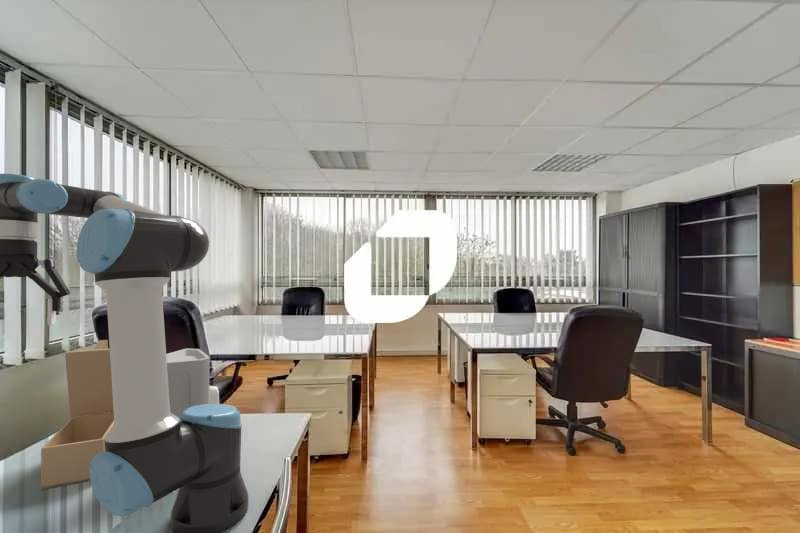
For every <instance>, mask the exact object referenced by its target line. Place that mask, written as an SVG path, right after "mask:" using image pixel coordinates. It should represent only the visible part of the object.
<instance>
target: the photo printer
mask: <svg viewBox="0 0 800 533" xmlns="http://www.w3.org/2000/svg"><path fill="white" fill-rule="evenodd" d="M209 404H220V391H219V388H218V386H214V385H209Z"/></svg>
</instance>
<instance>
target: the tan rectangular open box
mask: <svg viewBox="0 0 800 533" xmlns="http://www.w3.org/2000/svg"><path fill="white" fill-rule="evenodd" d="M113 427H114V412H109V413H101V414H93V415H85V416H77V417H70V419H68V421H67V422H66V423H65V424H63V426H62V427H61V428H60V429H59V430H58V431H57V432H56V433H55V434H54V435H53V436H52V437H51V438H50V439H49V440H48V441H47V442H46V443H45V444H44V445H43V446H42V448H41V450H40V453H41V454H40V459H41V460H40V465H41V466H40V490H41V491H43V490H48V489H49V490H50V489H54V488H59V487H64V486H69V485H70V486H71V485H76V484H79V483H80V484H81V483H85V482H86V483H87V482H91V481H90V475H89V470H90V465H91V461H92V459H93V458H94V457H95V456H96V455H98V454H99V453H100V452H103V451H105V441H104V437H105V436H106V434H107V433H108V432H109V431H110V430H111V429H112V428H113Z"/></svg>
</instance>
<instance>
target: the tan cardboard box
mask: <svg viewBox="0 0 800 533" xmlns="http://www.w3.org/2000/svg"><path fill="white" fill-rule="evenodd" d="M64 357H65V368H66V380H67V392H68V393H67V394H68V405H69V406H68V407H69V417H70V418H72V417H80V416H88V415H95V414H103V413H111V412H114V410H113V393H112V377H111V361H110V348H109V339H99V340H98V342H97V343H96V344H95V346H94V347H93V349H82V350H70V351H69V350H68V351H67V350H66V351H65V352H64Z"/></svg>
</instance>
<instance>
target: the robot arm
mask: <svg viewBox="0 0 800 533" xmlns="http://www.w3.org/2000/svg"><path fill="white" fill-rule="evenodd" d="M38 214H40V215H41V214H42V215H43V214H44V215H52V216H53V215H54V216H61V217H62V216H63V217H74V218H84V219H86V221H85V222H84V224H83V225H82V227H81V229H80V232H79V235H78V239H77V243H76V258H77V261H78V263H79V267H80V268H81V269H82V270H83V271H85V272H86V273H89V274H91V275H92V274H93V275H94V284H95V285H96V286H97V287H99V288H100V289H102V290H103V291H104V292H105V295H106V309H107V323H108V324H107V325H108V326H107V327H108V345H109V349H110V361H111V377H112V393H113V410H114V427H113V428H112V429H111V430H110V431H109V432H108V433H107V434H106V436H105V437H104V441H105V451H103V452H100V453H99V454H98V455H96V456H95V457H94V458H93V459H92V461H91V465H90V470H89V475H90V481H89V482H90V485H91V488H92V490H93V494H94V496H95V497H96V499H97V500H98V502H99V503H100V504H101V506H102V507H103V508H104V509H105V510H106V512H107V511H108V513H109V514H112V515H114V516H117V517H127V516H131V515H133V514H134V513H137V512H139V511H141V510H142V509H145V508H149V507H150V506H151V505H153V504H154V503H155V502H156V503H157V501H159V500H161V499H163V498H164V497H166V496H168V495H170V494H171V493H173V492H176V491H177V490H178V492H177V493H176V494H177V495H176V498H175V500H174V502H173V506H172V508H171V512H170V529H171V530H172V531H171V532H173V533H221V532H224V531H227V530H228V529H230V528H231V527H233V526H234V525H235V524H237V523H238V522H240V521H241V520H242V518H243V517H244V516H245V515H246V513H247V512H248V509H249V493H248V489H247V487H246V484H245V480H244V479H243V475H242V473H241V472H242V471H241V450H242V448H241V446H242V444H241V443H242V427H243V426H242V424H241V423H242V421H241V411H240V410H239V409H238V408H237V407H236V406H234V405H232V404H224V403H219V404H204V405H197V406H192V407H189V408H187V409H185V410H184V411H183V412H182V414H181V417H180V418H179V417H177V416H175V415H174V414H172V413H171V412H170V403H169V388H168V373H167V359H166V354H167V346H166V344H167V343H166V332H165V318H164V317H165V316H164V304H163V303H164V300H163V288H164V286H166V285H167V283H169V282H170V280H171V272H182V271H186V270H190V269H192V268H194V267H196V266H197V265H199V264H200V263H201V262H203V260H204V259H205V258H206V256H207V254H208V251H209V248H210V241H209V239H210V238H209V236H208V233H207V232H206V230H205V228H204V227H203V226H202V225H201V224H199V223H198V222H197V221H195V220H193V219H189V218H187V217H184V216H180V215H168V214H167V215H165V214H163V213H160V212H158V211H155V210H152V209H150V208H147V207H145V206H141V205H140V204H138V203H135V202H131V201H129V200H128V199H127V198H126V197H125V195H122V193H121V194H119V193H115V192H112V191H103V190H98V189H90V188H84V187H77V186H71V185H66V184H60V183H58V182H57V181H54V180H51V179H43V178H35V177H32V176H28V175H24V174H17V173H0V280H1V279H3V278H4V277H5V278H15V277H16V278H27V277H28V278H29V279H30V280H31V281H33V282H34V283H35V284H36V285H37V286H39V287H40V288H41V289H42V290H43V291H44V292H45V293H46V294H47V295H49V297H50V298H47V317H46V318H47V319H46V320H47V322H46V323H47V326H52V325H55V324H56V322H57V321H56V320H57V318H56V315H57V312H59V311H60V310H61V304H62V302H61V299H62V298H63V297H67V296H69V295H70V294H71V291H70V289H69V287H68V285H66V283H65V282H64V280H63V278H62V276H61V275H60V273H59V272H58V270H57V269H56V267H55V260H54V259H53V258H52V259H51V258H50V259H49V258H48V259H47V258H46V259H42V260H41V259H40V260H39V259H38V242H37V240H35V239H38V223H39V222H38V219H39V218H38ZM39 266H41V268H43V269H45V272H46V273H47V275H48V277H49V278H50V280H51V281H52V282H53V284H54V286H53V285H51V283H50V282H48V281H47V280H46V278H44V277H43V276H42V275H41V274H40V273H39V272H38V271H37V270H36V269H37V268H38V267H39ZM55 287H56V288H55ZM180 419H181V422H180Z"/></svg>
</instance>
